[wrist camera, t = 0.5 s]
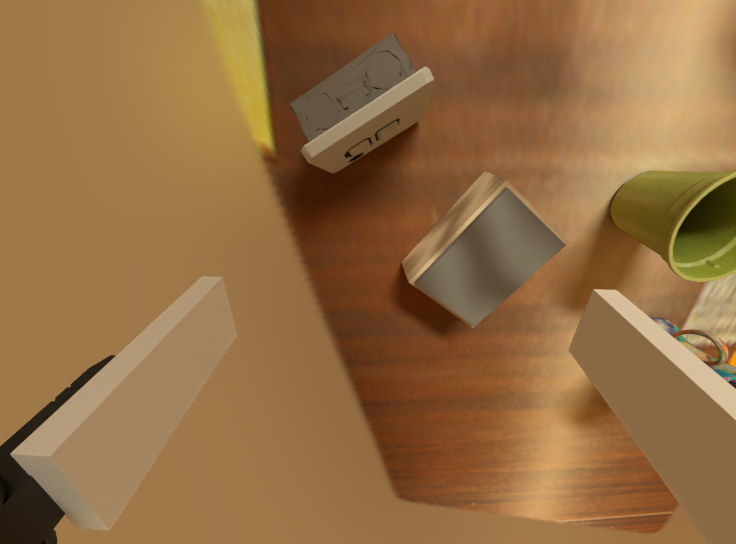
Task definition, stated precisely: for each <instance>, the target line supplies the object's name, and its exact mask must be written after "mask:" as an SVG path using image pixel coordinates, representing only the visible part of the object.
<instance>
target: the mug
mask: <svg viewBox="0 0 736 544" xmlns="http://www.w3.org/2000/svg"><path fill="white" fill-rule="evenodd" d="M651 319H652V320H653V321H654V322H656V323H657V324H658V325H659V326H660V327H662V328H663V329H664V330H665V331H666V332H668V333H669V334H670V335H671V336H672V337H674V338H675V339H676V340H677V341H678V342H680V343H681V344H682V345H683V346H685V347H686V348H687V349H688V350H689V351H691V352H692V353H693V354H694V355H695V356H697V357H698V358H699V359H700V360H701V361H703V362H704V363H705V364H706V365H707V366H709V367H710V368H711V369H712V370H714V371H715V372H716V373H717V374H718V375H720V376H721V377H722V378H723V379H724V380H726V381H727V382H728V383H729V384H733V385H735V386H736V367H734V366H731V365H729V364H726V363H725V362H726V361H727V359H728V356H729V353H728V349H727V347H726V345H725V343H724V342H723V341H722V340H721V339H720V338H719V337H717V336H716V335H714V334H712V333H709V332H706V331H702V330H683V331H679V330H678V328H677V326H676V325H675V324H674V323H673V322H671V321H669V320H666V319H662V318H651ZM683 334H696V335H700V336H703V337H706V338H708V339H709V340H711V341H712V342H713V343H714V344H715V345H716V347H717V349H718V352H719V358H718V359H715V358H713V357H711V356H709V355H707V354H705V353H704V352H702V351H700V350H699V349H697V348H696V347H694V346H693V345H692V344H691V343H689V342H688V341H687V340H686V339H685V338H684V337H683V336H682V335H683Z"/></svg>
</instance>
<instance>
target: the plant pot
mask: <svg viewBox="0 0 736 544" xmlns="http://www.w3.org/2000/svg"><path fill="white" fill-rule="evenodd" d="M610 214H611V216H612V219H613V222H614V225H615V226H616V227H617V228H619V229H621V230H622V231H624V232H625V233H627V234H628V235H630V236H631V237H633V238H635V239H636V240H638V241H639V242H641V243H642V244H644V245H646V246H647V247H649V248H650V249H652V250H653V251H655V252H656V253H658V254H659V255H660V256H661V257H662V259H663V260H664V261H665V262H667V263H668V265H669V267H670V268H671V270H672V271H673V272H674V273H675V274H676V275H678V276H679V277H681V278H683V279H685V280H688V281H694V282H706V281H714V280H718V279H721V278H724V277H727V276H729V275H732V274H734V273H736V170H730V171H725V172H674V171H648V172H644V173H641V174H640V175H639V176H637V177H635V178H634V179H632V180H630V181H628V182H626V183H625V184H624V185H623V186H622V187H621V188H620V189H619V191H618V192H617V193H616V195H615V197H614V199H613V201H612V204H611V208H610Z"/></svg>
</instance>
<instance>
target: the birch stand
mask: <svg viewBox="0 0 736 544" xmlns="http://www.w3.org/2000/svg"><path fill="white" fill-rule="evenodd" d="M567 243H569V242H568V241H567V240H566V239H565V238H564V237H563V236H562V235H561V234H560V233H559V232H558V231H557V230H556V229H555V228H554V227H553V226H552V225H551V224H550V223H549V222H548V221H547V220H546V219H545V218H544V217H543V216H542V215H541V214H540V213H539V212H538V211H537V210H536V209H535V208H534V207H533V206H532V205H531V204H530V203H529V202H528V201H527V200H526V199H525V198H524V197H523V196H522V195H521V194H520V193H519V192H518V191H517V190H516V189H515V188H514V187H513V186H512V185H511V184H510V183H509V182H508V181H507V180H505V179H503V178H500V177H498V176H496V175H493V174H491V173H488V172H486V171H484V172H483V173H482V175H481V176H480V177H479V178H478V179H477V180H476V181H475V182H474V183H473V184H472V185H471V187H470V188H469V189H468V190H467V191H466V192H465V193H464V194H463V195H462V196H461V198H460V199H459V200H458V201H457V202H456V203H455V204H454V205H453V206H452V207H451V208H450V210H449V211H448V212H447V213H446V214H445V215H444V216H443V217H442V218H441V219H440V221H439V222H438V223H437V224H436V225H435V226H434V227H433V228H432V229H431V230H430V231H429V233H428V234H427V235H426V236H425V237H424V238H423V239H422V240H421V241H420V242H419V244H418V245H417V246H416V247H415V248H414V249H413V250H412V251H411V252H410V253H409V254H408V256H407V257H406V258H405V259H404V260H403V261H402V262H401V263H402V265H403V268H404V271H405V274H406V277H407V279H408V282H409V283H410V284H412V285H413V286H414V287H416V288H417V289H419V290H420V291H421V292H423V293H424V294H426V295H427V296H428V297H430V298H431V299H433V300H434V301H435V302H437V303H438V304H439V305H441V306H442V307H444V308H445V309H446V310H448V311H449V312H451V313H452V314H453V315H455V316H456V317H458V318H459V319H460V320H462V321H463V322H465V323H466V324H467V325H469V326H470V327H471V328H473V327H475V326H476V325H477V324H478V323H479V322H481V321H482V320H483V319H484V318H485V317H486V316H487V315H488V314H489V313H491V312H492V311H493V310H494V309H495V308H496V307H497V306H498V305H500V304H501V303H502V302H503V301H504V300H505V299H506V298H507V297H508V296H510V295H511V294H512V293H513V292H514V291H515V290H516V289H517V288H519V287H520V286H521V285H522V284H523V283H524V282H525V281H526V280H527V279H529V278H530V277H531V276H532V275H533V274H534V273H535V272H536V271H538V270H539V269H540V268H541V267H542V266H543V265H544V264H545V263H547V262H548V261H549V260H550V259H551V258H552V257H553V256H554V255H555V254H557V253H558V252H559V251H560V250H561V249H562V248H563V247H564V246H566V244H567Z"/></svg>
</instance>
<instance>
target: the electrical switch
mask: <svg viewBox="0 0 736 544" xmlns="http://www.w3.org/2000/svg"><path fill="white" fill-rule="evenodd" d="M390 52H391V53H392V54H393V55H392V54H391V53H390ZM373 53H376V54H374V55H373ZM365 73H366V75H367V77H366V75H365ZM362 81H363V82H364V84H365V85H366V87H365V86H364V85H363V82H362ZM434 82H435V81H434V78H433V76H432V74H431V71H430V69H429V68H427V67H424V68H422V69H421V70H419V71H418V72H415V70H414V68H413V66H412V64H411V61H410V59H409V58H408V56H407V55H406V54H405V53H404V52H403V50H402V48H401V46H400V44H399V42H398V40H397V38H396V36H395V34H394V33H393V32H392V33H391V34H390V35H388V36H387V37H385V38H384V39H382V40H381V41H380V42H378V43H377V44H375V45H374V46H372V47H371V48H369V49H368V50H367V51H365V52H364V53H362V54H361V55H359V56H358V57H356V58H355V59H354V60H352V61H351V62H349V63H348V64H346V65H345V66H343V67H342V68H341V69H339V70H338V71H336V72H335V73H333V74H332V75H331V76H329V77H328V78H326V79H325V80H323V81H322V82H320V83H319V84H318V85H316V86H315V87H313V88H312V89H310V90H309V91H307V92H306V93H305V94H303V95H302V96H300V97H299V98H297V99H296V100H294V101H293V102H292V103H290V105H291V106H290V107H291V109H292V110H293V112H294V114H295V115H296V117H297V118H298V120H299V123H300V126H301V128H302V130H303V132H304V134H305V135H306V137H307V139H308V141H309V143H307V144H306V145H304V147H303V148H302V150H301V153H302V154H303V155H304V157H305V159H306V160H307V162H308V163H310V164H312V165H314V166H317V167H319V168H321V169H323V170H326V171H328V172H330V173H332V174H333V173H335V172H338V171H340V170H341V169H343V168H344V167H346V166H348V165H349V164H351V163H352V162H354V161H356V160H357V159H359V158H360V157H362V156H364V155H365V154H367V153H369V152H370V151H372V150H373V149H375V148H377V147H378V146H380V145H381V144H383V143H385V142H386V141H388V140H389V139H391V138H393V137H394V136H396V135H397V134H399V133H401V132H402V131H404V130H405V129H407V128H409V127H410V126H412V125H413V124H415V123H416V122H418V121H419V120H420V119H422V118H423V116H424V113H425V110H426V107H427V104H428V101H429V98H430V94H431V91H432V88H433V85H434ZM336 98H338V99H339V100H341V101H342V106H341V105H340V103H339V102H338V100H337V99H336ZM307 100H308V102H307ZM316 129H317V130H316Z"/></svg>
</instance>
